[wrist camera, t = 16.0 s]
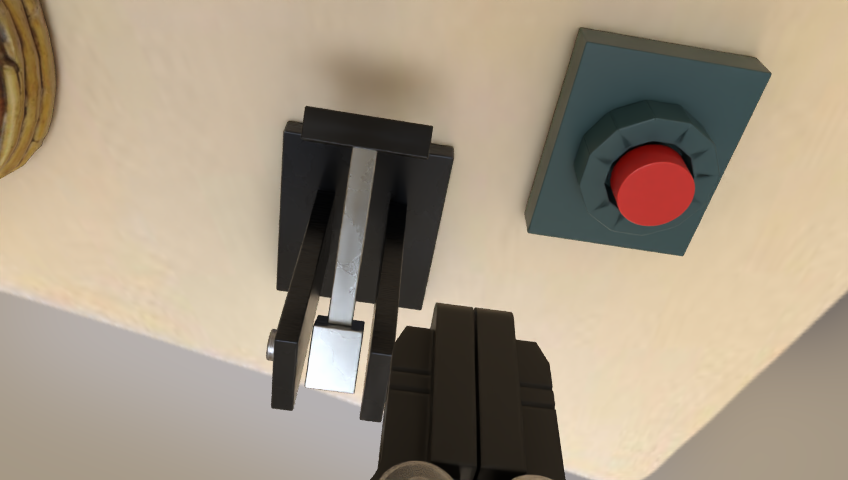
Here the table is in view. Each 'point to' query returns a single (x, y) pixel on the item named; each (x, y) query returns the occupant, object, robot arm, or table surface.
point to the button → (652, 185)
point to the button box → (638, 133)
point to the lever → (352, 233)
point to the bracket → (381, 261)
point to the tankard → (24, 82)
